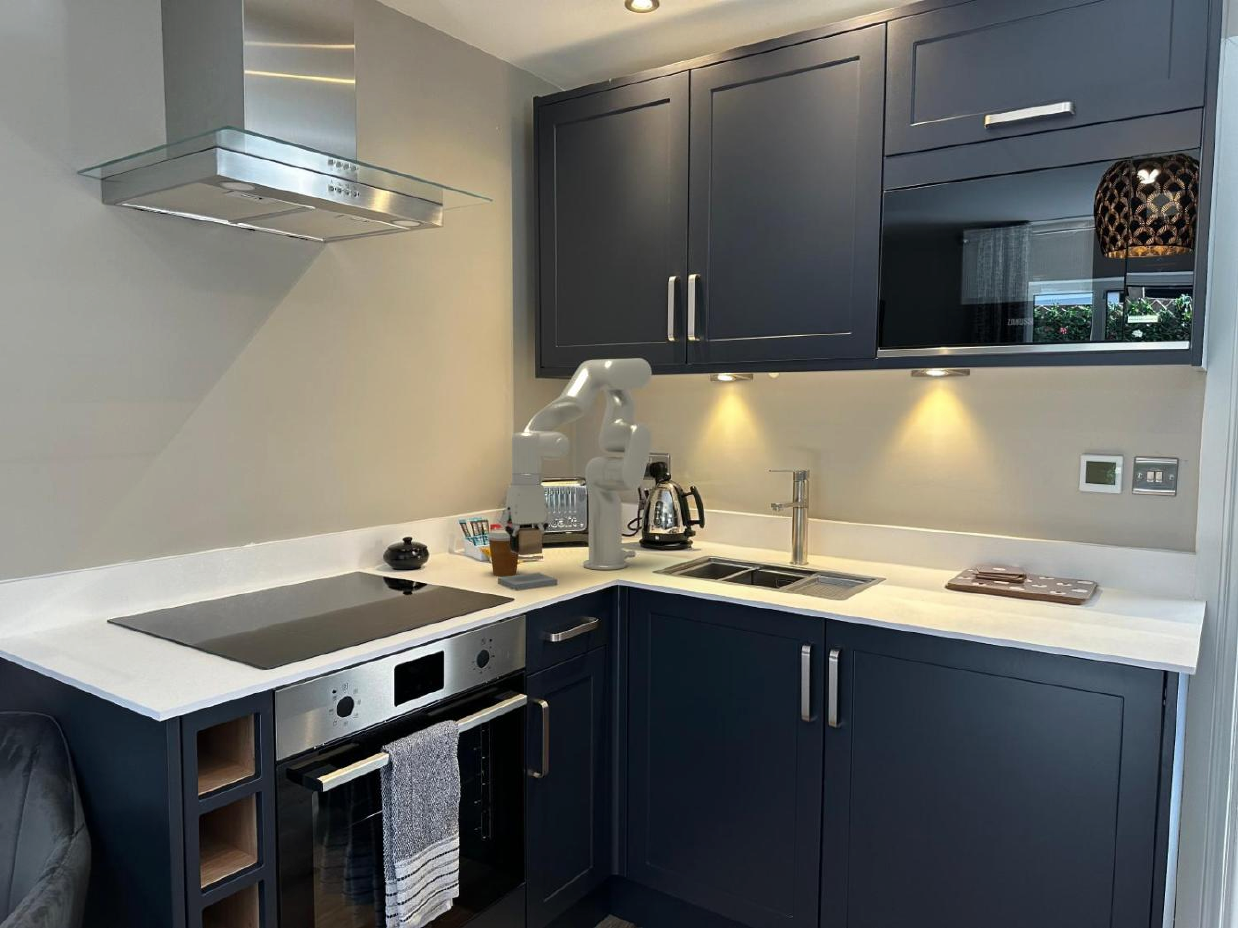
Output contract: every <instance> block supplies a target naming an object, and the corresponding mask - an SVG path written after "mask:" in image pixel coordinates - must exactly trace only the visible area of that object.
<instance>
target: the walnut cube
mask: <svg viewBox="0 0 1238 928" xmlns="http://www.w3.org/2000/svg"><path fill="white" fill-rule="evenodd" d="M517 536H518V537H519V551H518V552H515V551H512V550H511V552H512V553H515V554H519V556H526V555H527V556H528V555H529V556H530V555H538V554H543V545H542V530H540V529H535V528H534V527H521V528H520V527H519V530H518V533H517Z"/></svg>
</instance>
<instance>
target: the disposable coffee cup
mask: <svg viewBox="0 0 1238 928" xmlns="http://www.w3.org/2000/svg"><path fill="white" fill-rule="evenodd" d="M486 537H487V540H488V543H489V552H490V559H491V566H492V567H491V568H492V575H494V576H497V577H508V576H516V575H517V571H518V564H519V563H518V562H519V556H520V555H519V554H515V553H512V552H511V548H510V535H508V533H507V532H506V531H505V530H504V528H495V529H490V530H488V534H487V535H486Z"/></svg>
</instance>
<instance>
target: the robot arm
mask: <svg viewBox="0 0 1238 928" xmlns="http://www.w3.org/2000/svg"><path fill="white" fill-rule="evenodd" d="M652 374H653V373H652V368H651V365H650V364H649V362H648V361H647V360H645V359H644V358H641V357H639V358H638V357H637V358H635V357H634V358H608V359H591V360H590V359H588V360H585V361H583V362H582V363H580V365H579V366H578V368H577V369H576V370H575V372H574V374H573V375H572V377H571V378H570V379H569V381H568V383H567V384H566V387H565V388H564V389H563V391H562V392H561V394H560V396H558V397H557V398H556V399H554V400H553V401H552V402H550V403H548V404H547V405H546V406H545V407H544V408H543V407H542V409H540V410H539V411H537V413H536V414H535V415H534V416H533V417H532V418H531V419H530V421H528V423H527V425H526V426H525V428H524V429H523V431H521V432H519V431H518V432H515V433H514V434H513V435H512V438H511V485H508V488H507V492H506V493H507V494H506V499H505V507H504V508H505V509H504V514H503V515H502V517H501V518H500V519H499V520H498V525H500V527H501V528H502V529H504V530H505V531H506V532H507V533H508V535H510V548H511V550H512V551H515V552H518V551H519V537H518V536H517V533H518V530H519V528H520V526H525V525H526V526H528V525H529V526H530V525H532V526H533V528H535V529H540V530H542V546H543V544H544V543H543V539H544V538H543V537H544V534H545V533H546V532H545V531H547V529H548V528H549V525H551V524H552V522H554V517H553V516H552V515H551V514H550V513H549V512H548V510H547V500H546V491H545V488H544V485H542V484H543V481H546V475H544V474H542V461H543V460H545V461H559V460H561V459H563V458H565V457H566V456H567V455H568V454H569V451H570V447H571V446H570V445H571V443H570V440H569V438H568V437H567V436H566V435H565V434H564V433H562V432H559V431H554V430H556V429H558V428H560V427H561V426H563V425H566V424H570V423H572V422H573V421H574V422H575V421H577V420H578V419H581V418H582V417H584V416H585V415H586V414H587V412H588V411H589V409H590V407H591V406H592V404H593V403H594V401H595V399H596V398H597V397H598V395H599V393H600V392H602V391H603V392H604V395H605V398H606V399H605V400H606V406H605V412H604V417H603V419H602V424H601V428H600V432H599V438H598V446H599V449H600V450H601V451H603V452H605V453H607V454H613V455H615V454H616V455H623V457H621V456H620V457H617V456H604V455H603V456H597V457H593V458H592V459H591V460H588V463H587V464H586V466H585V470H584V478H585V484H586V488H587V496H588V497H587V498H588V559H586V560H584V561H583V562H582V564H583V567H584V568H586V569H591V570H601V571H602V570H603V571H609V570H610V571H613V570H619V569H620V570H621V569H624V568H626V567H628V561H626V560H627V558H635V557H636V555H637V554H636V551H635V550H634V549H633V550H628V551H627V550H625V549H623V547H622V544H623V543H622V538H623V536H622V535H623V534H622V533H623V529H622V528H623V523H622V522H623V521H622V518H623V517H622V516H623V515H622V514H623V513H622V512H623V511H622V508H623V507H622V502H621V501H622V500H621V498H620V496H619V493H618V492H630V493H631V492H634V491H635V492H636V490H638V489H639V488H640V487H641V485H642V483H643V481H644V477H645V474H646V470H647V464H648V461H649V458H650V454H651V453H650V452H651V448H652V442H653V441H652V433H651V430H650V428H649V427H648V425H647V424H645V423H643V422H641V421H637V420H635V421H634V419H635V414H636V413H635V412H636V403H635V400H634V397H633V396H632V394H631V393H630V390H635V389H643V388H645V387H646V386H647V385H648V384H649V383H650V381H651V378H652V376H653V375H652ZM508 524H510V525H508Z"/></svg>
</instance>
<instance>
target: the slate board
mask: <svg viewBox="0 0 1238 928" xmlns="http://www.w3.org/2000/svg"><path fill="white" fill-rule="evenodd" d="M497 585H500V586H503V587H505V588H508V589H510V590H513V589H514V590H513V591H515V590H516V591H523V590H529V589H536V588H543V587H545V588H546V587H551V586H557V585H558V579H557V578H555V577H552V576H549V575H546V574H543V573H540V572H534V573H533V572H532V573H527V574H526V573H525V574H516V575H512V576H499V577H497ZM522 589H523V590H522Z"/></svg>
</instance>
